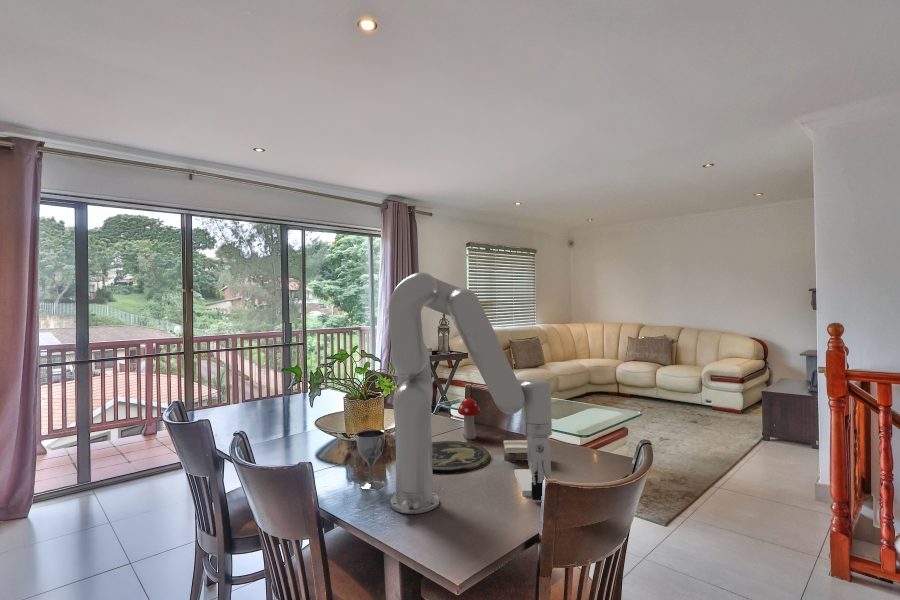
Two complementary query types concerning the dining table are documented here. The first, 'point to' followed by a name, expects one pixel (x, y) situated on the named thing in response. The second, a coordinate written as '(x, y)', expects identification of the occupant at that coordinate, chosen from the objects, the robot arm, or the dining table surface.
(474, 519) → the dining table surface
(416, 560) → the dining table surface
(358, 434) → the wine glass
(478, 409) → the decorative mushroom
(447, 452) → the decorative plate
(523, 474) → the tile
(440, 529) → the dining table surface
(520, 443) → the low shelf
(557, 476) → the dining table surface
